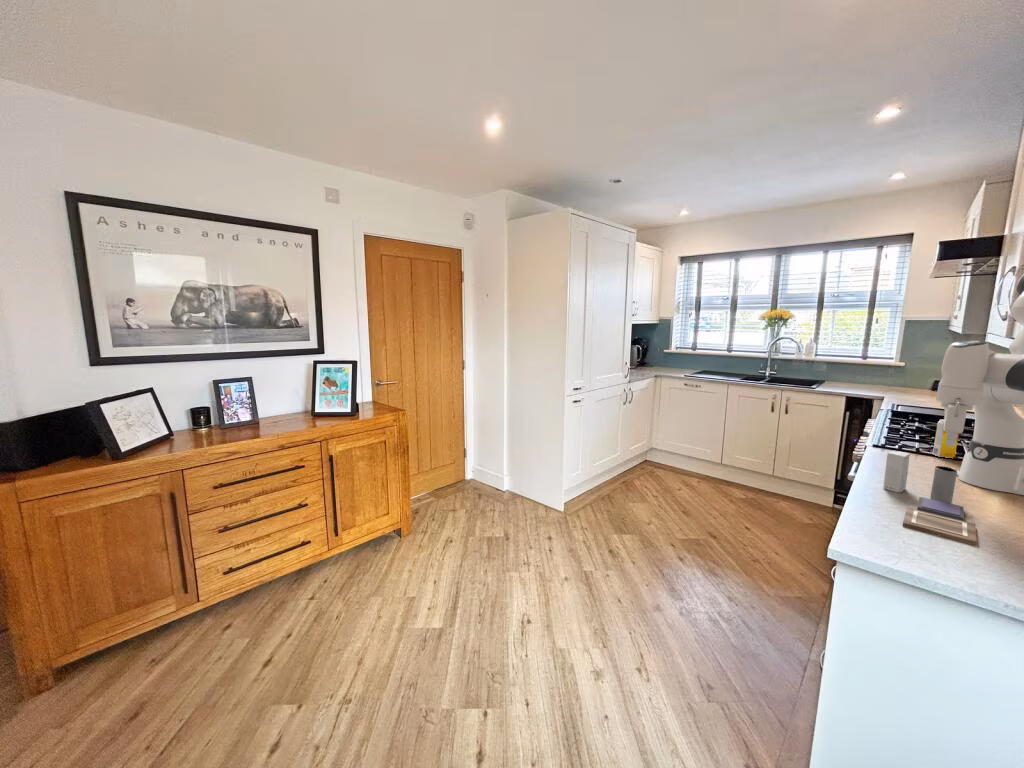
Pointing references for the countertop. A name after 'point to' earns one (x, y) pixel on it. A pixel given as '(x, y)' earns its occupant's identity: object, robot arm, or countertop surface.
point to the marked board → (940, 526)
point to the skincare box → (896, 471)
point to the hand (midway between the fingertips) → (949, 442)
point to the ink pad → (941, 508)
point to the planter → (943, 484)
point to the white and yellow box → (943, 442)
